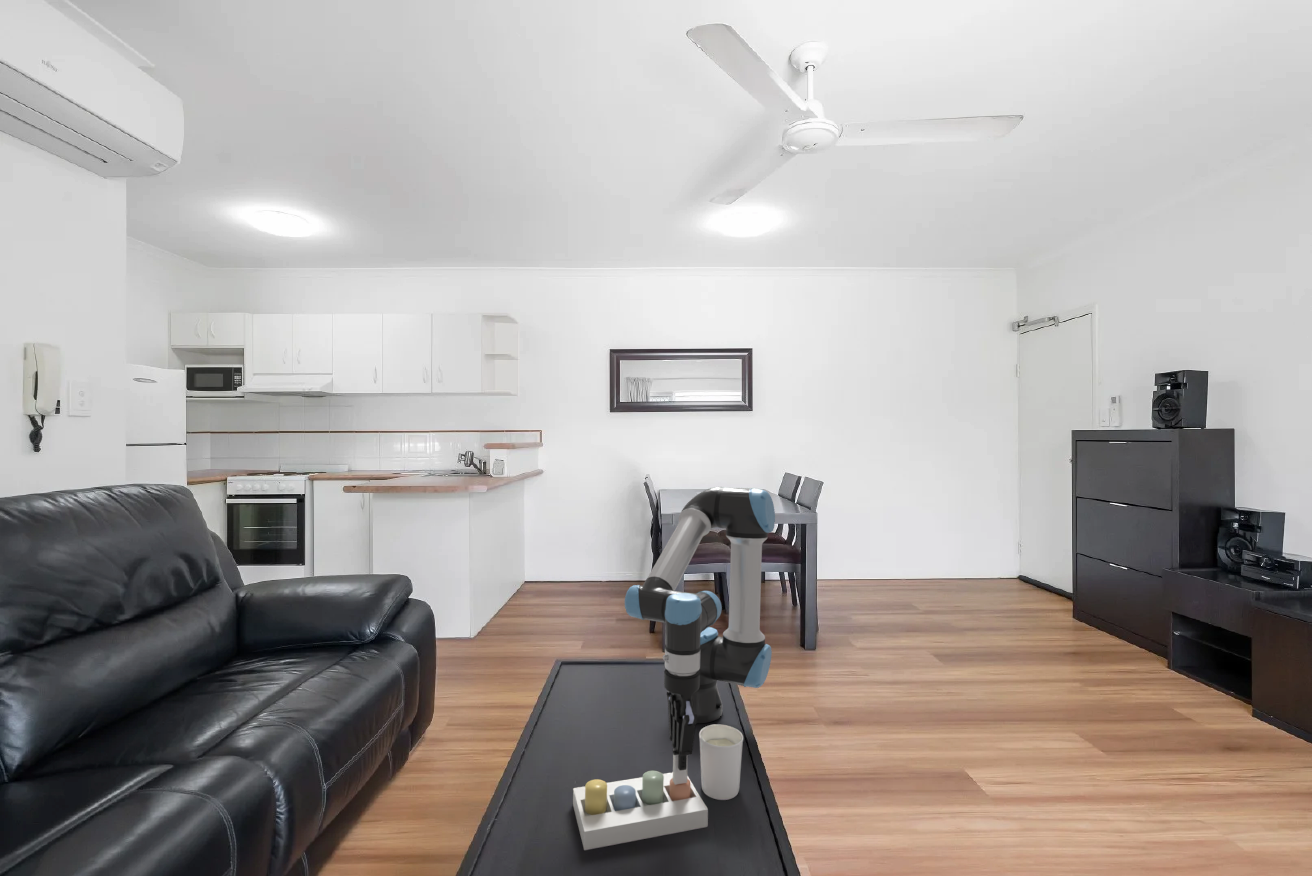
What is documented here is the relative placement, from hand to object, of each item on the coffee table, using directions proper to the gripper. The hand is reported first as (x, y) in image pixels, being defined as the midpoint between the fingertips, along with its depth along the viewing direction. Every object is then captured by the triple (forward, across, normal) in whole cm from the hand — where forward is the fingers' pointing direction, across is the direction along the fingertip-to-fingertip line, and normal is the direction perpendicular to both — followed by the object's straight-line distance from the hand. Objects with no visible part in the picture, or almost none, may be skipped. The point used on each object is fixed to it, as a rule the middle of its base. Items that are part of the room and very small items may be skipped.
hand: (679, 781), depth 120 cm
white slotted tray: (+6, 0, -9) cm, 11 cm away
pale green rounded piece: (+3, 0, -6) cm, 6 cm away
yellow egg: (+3, 0, -18) cm, 18 cm away
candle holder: (+6, -4, +11) cm, 13 cm away
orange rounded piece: (+5, 0, 0) cm, 5 cm away
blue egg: (+5, 0, -12) cm, 13 cm away
